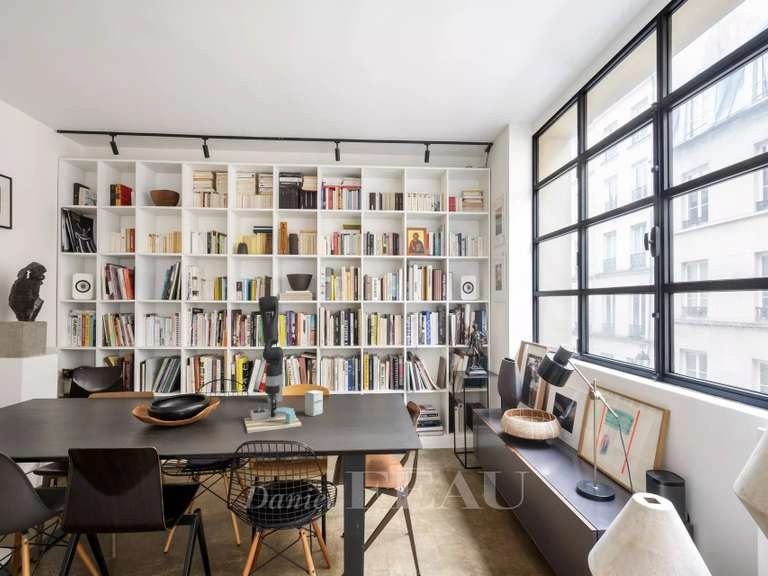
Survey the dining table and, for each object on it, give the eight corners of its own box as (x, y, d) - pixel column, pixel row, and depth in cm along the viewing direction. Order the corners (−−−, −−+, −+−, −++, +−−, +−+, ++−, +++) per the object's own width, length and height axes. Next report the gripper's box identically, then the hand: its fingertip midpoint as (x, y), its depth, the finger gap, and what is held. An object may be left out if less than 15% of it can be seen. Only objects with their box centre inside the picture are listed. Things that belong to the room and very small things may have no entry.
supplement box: (313, 416, 210) (313, 393, 211) (304, 414, 215) (304, 391, 215) (323, 413, 216) (323, 391, 217) (314, 411, 221) (314, 389, 221)
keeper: (273, 425, 195) (273, 410, 195) (281, 421, 202) (281, 407, 202) (288, 427, 192) (288, 412, 193) (295, 423, 199) (296, 408, 199)
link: (251, 421, 197) (252, 414, 197) (250, 417, 204) (250, 410, 204) (289, 417, 205) (289, 409, 205) (287, 413, 212) (287, 406, 212)
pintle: (256, 420, 203) (257, 406, 203) (260, 420, 203) (260, 406, 204) (257, 421, 201) (257, 407, 201) (260, 421, 202) (260, 407, 202)
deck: (244, 420, 203) (244, 418, 203) (293, 414, 214) (293, 412, 214) (247, 433, 183) (247, 430, 183) (301, 425, 194) (301, 423, 194)
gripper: (263, 382, 211) (263, 413, 210) (267, 387, 198) (266, 420, 197) (277, 381, 214) (277, 411, 213) (281, 385, 201) (281, 418, 200)
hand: (272, 415), depth 205 cm, fingers closed on link, 4 cm apart
